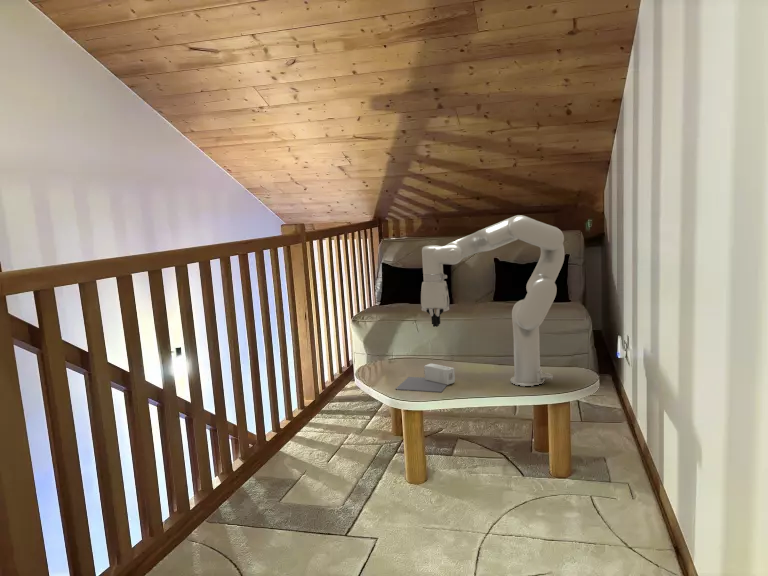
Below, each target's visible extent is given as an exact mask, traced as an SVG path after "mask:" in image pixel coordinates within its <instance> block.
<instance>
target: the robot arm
mask: <svg viewBox="0 0 768 576" xmlns="http://www.w3.org/2000/svg"><path fill="white" fill-rule="evenodd" d="M518 240H519V241H522V242H525V243H527V244H529V245H533V246H536V247H539V248H540V249H539V250H540V256H539V259H538V262H537V263H536V266H535V268H534V269H533V272H532V273H531V276H530V277H529V279H528V280H527V283H526V285H525V286H526V287H525V288H526V292H527V293H526V295H525V297H524V298H523V299H520V300H518V301H516V302H515V304H514V305H513V307H512V310H511V321H512V334H513V362H514V363H513V364H514V369H513V370H514V372H513V373H514V376H512V377H511V378H510V383H511V384H512V383H513V384H512V385H514V384H515V386H518V385H520V386H519V387H525V386H531V387H534V386H533V385H539V384H542V383H543V382H544V381H545V380H553V373H552V374H551V373H550V372H544V371H543V370H542V368H541V357H540V356H541V355H540V354H541V353H540V352H541V351H540V349H541V348H540V326H541V325H542V323H543V322H544V320H545V318H546V316H547V314H548V313H549V311H550V309H551V307H552V306H553V303H554V302H555V301H554V300H555V298H556V296H557V289H558V288H557V284H556V280H557V278H558V276H559V273H560V271H561V269H562V267H563V264H564V261H565V254H566V253H565V246H564V241H565V236H564V233H563V232H562V230H561V228H560V229H559V228H558V227H557V226H553V225H551V224H547V223H545V222H542V221H539V220H536V219H534V218H531V217H529V216H526V215H520V214H517V215H514V216H511V217H509V218H506V219H504V220H501V221H499V222H497V223H494V224H492V225H488V226H486V227H485V228H482V229H479V230H477V231H475V232H473V233H471V234H468V235H466V236H463V237H461V238H459V239H456V240H455V241H451V242H449V243H447V244H446V245H435V244H432V245H425V246H422V248H421V255H422V256H421V257H422V258H421V260H422V261H421V262H422V274H423V275H422V276H423V281H422V282H421V289H420V290H421V291H420V305H421V311H422V312H427V314H428V315H429V316H430V317H431V318H430V319H431V325H433V326H432V327H436V328H438V327H439V326H440V324H441V315H442V314H443V313H444V312H447V311H449V310H450V306H449V305H450V297H449V289H448V284H447V281H446V280H445V279H448V275H447V274H445V273H444V265H457V264H459V263H460V262H462V259H464V258H467V257H470V256H472V255H475V254H478V253H483V252H489V251H493V250H495V249H497V248H500V247H502V246H505V245H508V244H509V243H513V242H515V241H518ZM435 309H436V310H435ZM544 383H545V382H544ZM544 383H543V384H544ZM543 384H542V385H543ZM539 386H540V385H539Z"/></svg>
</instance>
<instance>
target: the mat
mask: <svg viewBox="0 0 768 576" xmlns="http://www.w3.org/2000/svg"><path fill="white" fill-rule="evenodd" d="M447 386H448V385H446V384H442V383H438V382H433V381H429V380H425V377H419V376H408V377H407V378H406V379H404V381H402V382H401V383H400V384H399V385H398V386H397V387H396V388H395V390H396V389H398V390H397V391H407V390H409V391H411V392H427V393H443V391H444V390H445V389H446V388H447Z"/></svg>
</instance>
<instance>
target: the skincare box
mask: <svg viewBox="0 0 768 576" xmlns="http://www.w3.org/2000/svg"><path fill="white" fill-rule="evenodd" d="M423 368H424V370H423V372H424V373H423V374H424V378H425V380H429V381H433V382H438V383H442V384H446V385H447V386H449V385H451V384H453V383H455V381H456V377H455V374H456V373H455V367H450V366H445V365H442V364H436V363H433V362H432V363H428V364H425V365H424V367H423Z"/></svg>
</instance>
